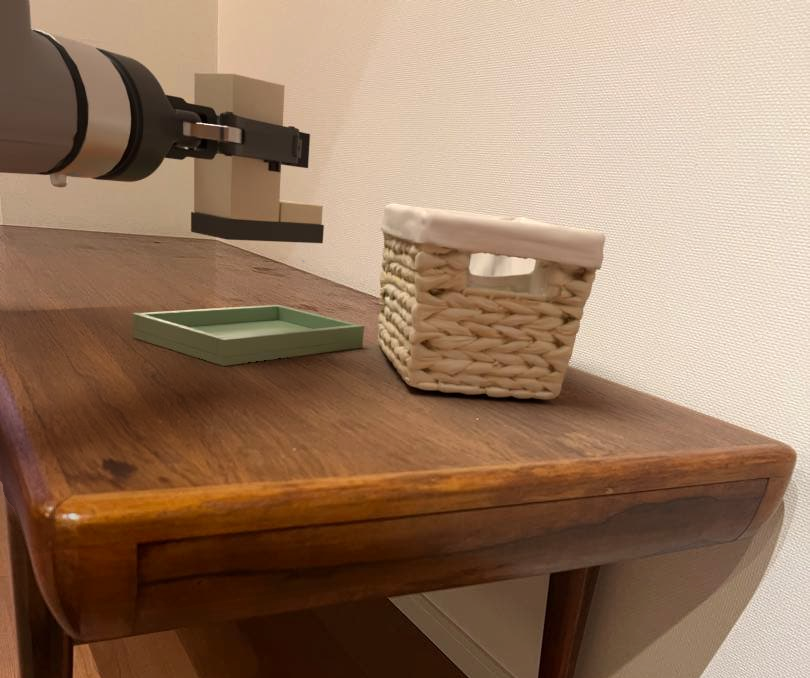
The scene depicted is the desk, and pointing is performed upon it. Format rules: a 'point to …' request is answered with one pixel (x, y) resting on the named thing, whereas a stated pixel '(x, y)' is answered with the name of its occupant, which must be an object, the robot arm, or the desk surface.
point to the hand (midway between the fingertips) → (268, 146)
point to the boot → (246, 172)
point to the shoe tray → (246, 333)
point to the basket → (483, 300)
